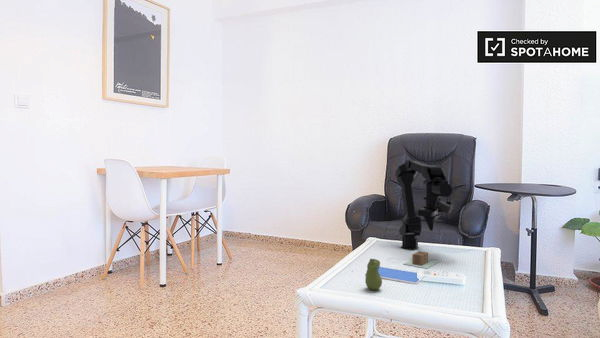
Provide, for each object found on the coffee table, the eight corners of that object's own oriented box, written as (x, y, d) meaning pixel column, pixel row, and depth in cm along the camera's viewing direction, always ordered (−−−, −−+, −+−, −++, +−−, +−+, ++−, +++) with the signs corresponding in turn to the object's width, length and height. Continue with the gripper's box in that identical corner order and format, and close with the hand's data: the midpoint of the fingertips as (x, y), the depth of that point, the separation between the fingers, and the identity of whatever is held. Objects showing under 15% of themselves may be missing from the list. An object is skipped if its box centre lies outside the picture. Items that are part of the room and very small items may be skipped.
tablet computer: (426, 277, 146) (426, 273, 146) (417, 286, 135) (417, 282, 135) (376, 269, 156) (376, 265, 156) (364, 277, 145) (364, 273, 145)
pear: (368, 285, 134) (368, 256, 134) (383, 288, 132) (384, 258, 131) (363, 290, 129) (363, 260, 129) (379, 293, 127) (379, 262, 126)
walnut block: (418, 260, 166) (412, 264, 161) (419, 251, 166) (412, 254, 160) (428, 262, 164) (421, 265, 158) (428, 252, 163) (422, 255, 158)
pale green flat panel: (403, 264, 161) (403, 263, 161) (416, 257, 172) (416, 257, 172) (427, 268, 155) (427, 268, 155) (439, 261, 166) (439, 260, 166)
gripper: (443, 197, 159) (443, 236, 159) (458, 194, 173) (457, 229, 174) (416, 195, 166) (416, 232, 166) (432, 192, 180) (432, 226, 181)
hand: (431, 230), depth 171 cm, fingers closed
